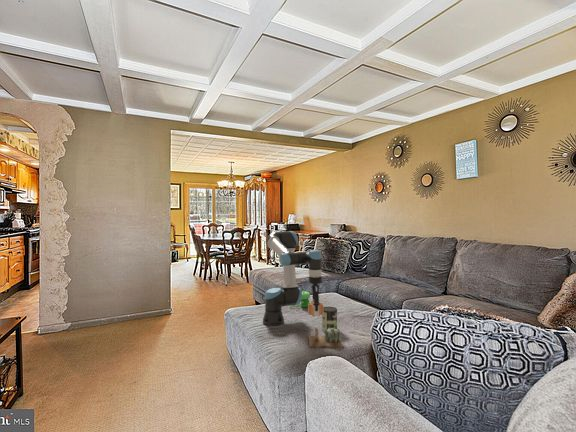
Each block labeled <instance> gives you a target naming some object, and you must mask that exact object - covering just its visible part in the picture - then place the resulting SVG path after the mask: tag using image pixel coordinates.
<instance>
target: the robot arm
mask: <svg viewBox="0 0 576 432" xmlns="http://www.w3.org/2000/svg"><path fill="white" fill-rule="evenodd" d="M298 238H299V237H298V235H297V233H296V232H295V231H292V230H286V231H285V230H283V231H272V232H270V233H269V235H268V236H267V237H266V240H265V244H266V246H267V247H268V248H269V249H270V250H272V251H273V252H274V253H275V254H276V255H277V256H278V258H279V264H280V265H281V266H283V280H284V283H283V284H284V285H282V288H280V287H273V288H269V289H267V290H266V291H265V292H264V308H265V309H264V310H265V311H264V314H263V317H262V323H263V325H266V326H271V327H272V326H274V327H276V326H280V325H283V324H285V323H284V322H285V317H284V315H283V312H282V311H283V310H282V307H291V306H292V305H294V306H297V304H298V305H300V304H301V299H302V292H303V291H302V289H301V288H300V287H299V285H298V284H297V276H296V265H297V266H299V265H308V276H309V277H308V282H309V283H310V284H312V285H311V289H312V296H311V298H312V302H314V304H313V306H314V316H313V317H320V316H319V303H320V297H319V295H320V286H319V284H321V283H322V281H323V280H322V279H323V278H322V274H323V270H322V268H323V267H322V258H323V257H322V251H321V250H320V249H310V250H307V251H306V250H303V251H301V252H295V250H296V247H298V245H299V239H298ZM299 303H300V304H299Z"/></svg>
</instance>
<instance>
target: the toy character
mask: <svg viewBox="0 0 576 432" xmlns="http://www.w3.org/2000/svg"><path fill="white" fill-rule="evenodd" d="M301 292H302V299H301V302H300V303H299V304H297V305H296V306H299V307H301V308H308V303H310V298H311V293H310V292H309V291H305V290H302V291H301ZM294 306H295V305H290V306H289V308H290V309H292V307H294Z"/></svg>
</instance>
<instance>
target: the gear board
mask: <svg viewBox="0 0 576 432" xmlns="http://www.w3.org/2000/svg"><path fill="white" fill-rule="evenodd" d="M340 334H341V333H340V330H339V328H337V329H335V328H328V329H325V332H324V335H319V328H317V327H316V328H314V335H307V336H308V342H309V347H310V349H314V348H313V347H338V348H344V345H343V343H342V340H341V338H340Z"/></svg>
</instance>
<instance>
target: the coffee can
mask: <svg viewBox="0 0 576 432" xmlns="http://www.w3.org/2000/svg"><path fill="white" fill-rule="evenodd" d="M328 328H335V329H338V308H336V306H335V307H334V306H323V315H321V331H322V332H323V333H325V329H328Z"/></svg>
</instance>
